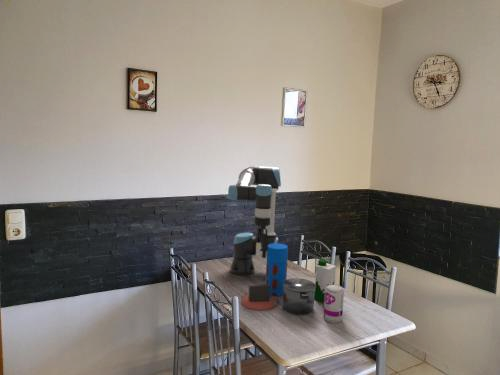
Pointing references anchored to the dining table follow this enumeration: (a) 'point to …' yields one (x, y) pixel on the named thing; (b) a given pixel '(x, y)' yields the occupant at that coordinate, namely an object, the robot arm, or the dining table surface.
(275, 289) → the thermos
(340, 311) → the supplement can
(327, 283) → the milk carton
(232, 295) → the dining table surface
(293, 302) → the pot
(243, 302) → the lid
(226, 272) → the dining table surface
